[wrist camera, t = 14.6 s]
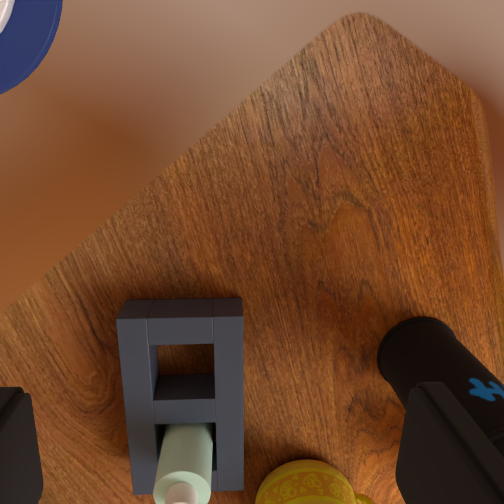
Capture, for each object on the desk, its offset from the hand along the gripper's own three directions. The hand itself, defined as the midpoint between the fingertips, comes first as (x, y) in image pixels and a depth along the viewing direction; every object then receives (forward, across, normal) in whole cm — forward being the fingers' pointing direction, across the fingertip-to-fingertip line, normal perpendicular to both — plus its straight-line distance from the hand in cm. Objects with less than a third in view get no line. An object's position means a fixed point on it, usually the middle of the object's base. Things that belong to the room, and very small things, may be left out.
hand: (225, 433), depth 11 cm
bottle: (+29, +3, +24) cm, 37 cm away
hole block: (+29, +3, +19) cm, 35 cm away
